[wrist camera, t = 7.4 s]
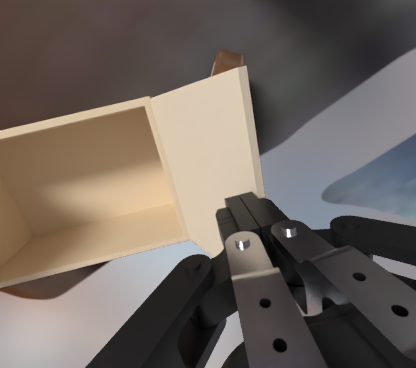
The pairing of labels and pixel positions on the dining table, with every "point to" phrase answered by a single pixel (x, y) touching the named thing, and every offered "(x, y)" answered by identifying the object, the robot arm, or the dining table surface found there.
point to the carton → (84, 191)
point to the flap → (210, 149)
